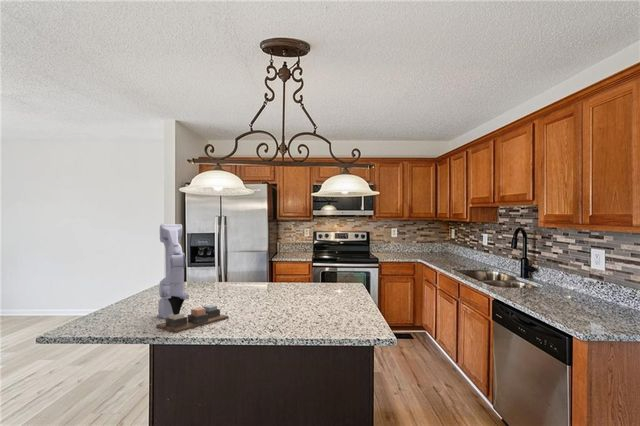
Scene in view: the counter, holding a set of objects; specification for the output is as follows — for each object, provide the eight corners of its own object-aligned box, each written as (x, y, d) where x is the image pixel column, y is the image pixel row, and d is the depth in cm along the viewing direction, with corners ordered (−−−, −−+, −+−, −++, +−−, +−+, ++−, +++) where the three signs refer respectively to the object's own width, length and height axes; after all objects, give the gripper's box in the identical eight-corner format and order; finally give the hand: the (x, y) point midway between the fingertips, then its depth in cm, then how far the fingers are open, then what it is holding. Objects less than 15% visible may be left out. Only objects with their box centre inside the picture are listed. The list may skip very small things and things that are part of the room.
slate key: (203, 313, 179) (203, 306, 179) (211, 312, 182) (211, 304, 182) (209, 315, 176) (209, 307, 176) (217, 313, 180) (217, 306, 180)
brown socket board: (156, 326, 164) (156, 317, 164) (209, 313, 187) (209, 305, 187) (175, 332, 156) (175, 323, 156) (228, 318, 179) (228, 309, 179)
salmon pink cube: (191, 317, 170) (191, 309, 170) (199, 314, 173) (199, 307, 173) (197, 318, 167) (197, 310, 167) (205, 316, 171) (205, 308, 171)
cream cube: (168, 322, 164) (168, 314, 164) (177, 320, 168) (177, 312, 168) (174, 324, 161) (174, 315, 161) (183, 321, 165) (183, 313, 165)
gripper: (158, 282, 166) (158, 313, 165) (178, 285, 157) (178, 318, 157) (173, 279, 171) (172, 310, 171) (193, 283, 163) (192, 315, 163)
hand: (176, 314), depth 164 cm, fingers closed, pressing on cream cube
